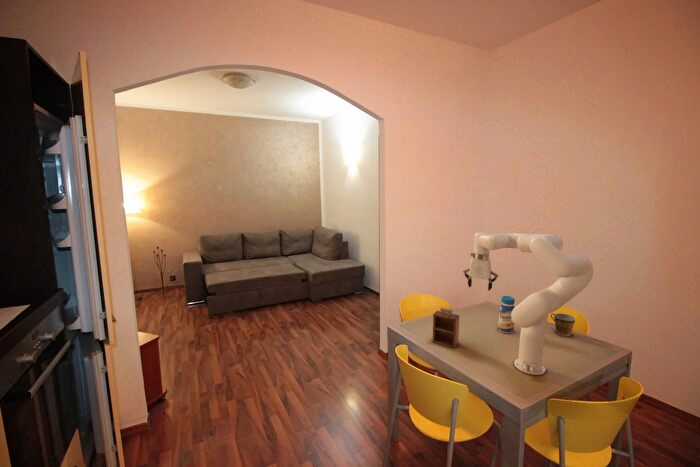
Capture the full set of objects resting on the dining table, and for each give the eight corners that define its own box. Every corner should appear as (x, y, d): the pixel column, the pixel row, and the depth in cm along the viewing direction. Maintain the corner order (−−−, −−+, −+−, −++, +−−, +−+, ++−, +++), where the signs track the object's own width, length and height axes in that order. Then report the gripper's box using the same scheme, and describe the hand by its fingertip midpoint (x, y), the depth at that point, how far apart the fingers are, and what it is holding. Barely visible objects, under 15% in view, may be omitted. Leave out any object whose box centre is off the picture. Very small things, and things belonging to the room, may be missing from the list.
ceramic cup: (577, 335, 178) (579, 318, 176) (565, 339, 174) (567, 321, 172) (555, 326, 190) (557, 310, 188) (543, 329, 186) (545, 313, 184)
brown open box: (454, 348, 166) (456, 312, 163) (432, 342, 173) (433, 308, 170) (458, 343, 171) (459, 309, 168) (436, 337, 178) (437, 304, 175)
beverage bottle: (514, 329, 186) (516, 296, 183) (513, 335, 179) (515, 301, 176) (498, 326, 191) (500, 294, 188) (497, 331, 183) (499, 298, 180)
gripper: (462, 255, 167) (460, 287, 169) (498, 259, 157) (496, 293, 160) (465, 253, 173) (464, 283, 175) (500, 256, 163) (498, 289, 166)
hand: (479, 288), depth 168 cm, fingers open, 9 cm apart
